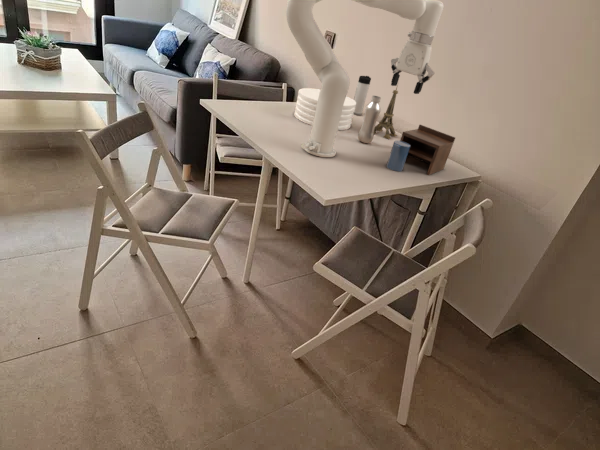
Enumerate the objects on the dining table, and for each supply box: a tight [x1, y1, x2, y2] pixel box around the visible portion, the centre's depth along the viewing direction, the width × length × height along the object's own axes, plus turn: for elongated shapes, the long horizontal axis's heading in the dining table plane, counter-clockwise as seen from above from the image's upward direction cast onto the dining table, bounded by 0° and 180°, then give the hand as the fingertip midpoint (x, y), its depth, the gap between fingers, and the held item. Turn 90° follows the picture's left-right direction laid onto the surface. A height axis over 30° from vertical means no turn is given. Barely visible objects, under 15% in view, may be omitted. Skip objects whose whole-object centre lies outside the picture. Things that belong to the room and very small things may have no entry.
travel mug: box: [353, 75, 372, 116], centre depth 225 cm, size 6×7×20 cm
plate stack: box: [293, 87, 356, 131], centre depth 201 cm, size 28×28×12 cm
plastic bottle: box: [357, 95, 382, 144], centre depth 180 cm, size 6×7×20 cm
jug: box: [386, 140, 411, 172], centre depth 161 cm, size 10×6×10 cm, turn 138°
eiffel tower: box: [374, 84, 399, 140], centre depth 198 cm, size 11×11×25 cm
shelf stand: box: [399, 124, 456, 176], centre depth 169 cm, size 14×16×14 cm
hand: (404, 89), depth 152 cm, fingers open, 9 cm apart
